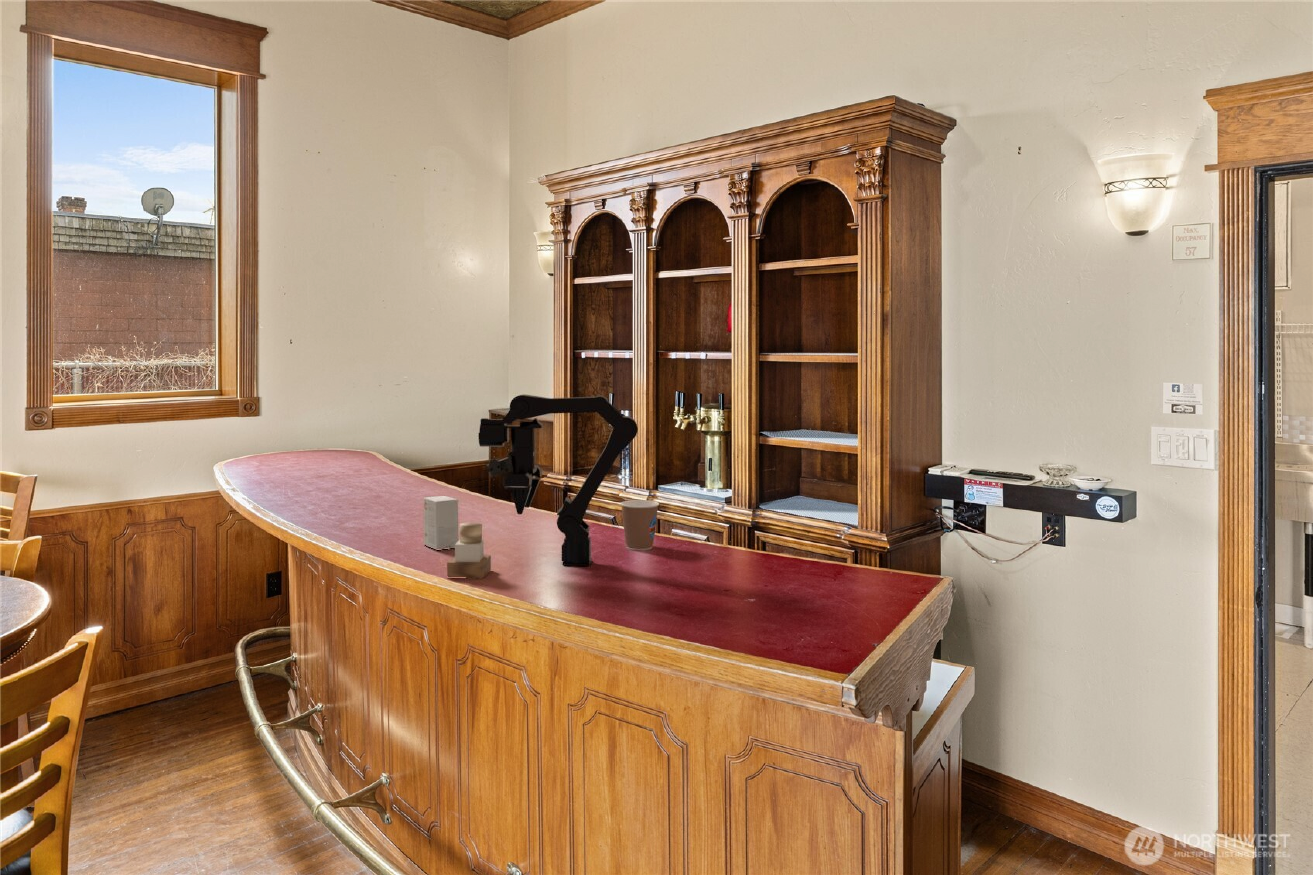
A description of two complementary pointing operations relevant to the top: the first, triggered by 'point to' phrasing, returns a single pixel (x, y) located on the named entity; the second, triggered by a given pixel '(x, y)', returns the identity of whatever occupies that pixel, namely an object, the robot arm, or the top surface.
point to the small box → (440, 522)
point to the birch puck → (470, 533)
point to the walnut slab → (469, 568)
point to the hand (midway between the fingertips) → (523, 510)
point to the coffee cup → (639, 523)
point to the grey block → (469, 552)
